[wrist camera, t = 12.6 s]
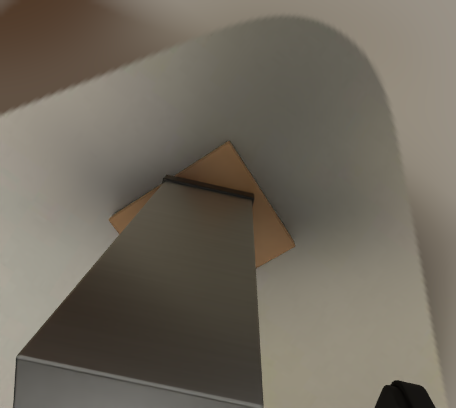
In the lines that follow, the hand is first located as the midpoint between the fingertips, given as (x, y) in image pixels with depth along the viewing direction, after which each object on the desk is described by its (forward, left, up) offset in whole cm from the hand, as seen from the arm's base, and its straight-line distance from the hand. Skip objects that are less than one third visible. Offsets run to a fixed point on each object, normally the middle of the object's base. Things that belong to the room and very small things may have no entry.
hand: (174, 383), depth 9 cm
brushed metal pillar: (+1, 0, -10) cm, 10 cm away
